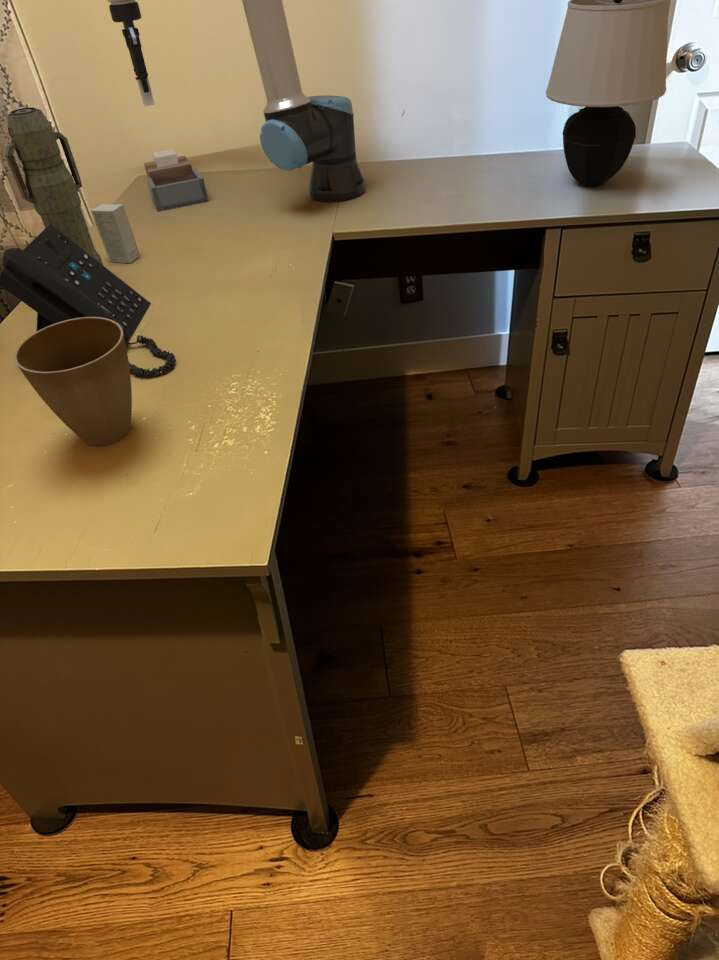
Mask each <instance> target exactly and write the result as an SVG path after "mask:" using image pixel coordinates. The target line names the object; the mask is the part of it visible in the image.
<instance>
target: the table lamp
mask: <svg viewBox="0 0 719 960" xmlns="http://www.w3.org/2000/svg"><path fill="white" fill-rule="evenodd" d="M669 5H670V0H568V2H567V9H566V13H565V18H564V21H563V26H562V29H561V33H560V37H559V41H558V44H557V49H556V52H555V56H554V59H553V60H554V61H553V65H552V68H551V72H550V73H551V74H550V76H549V80H548V84H547V88H546V90H545V96H546V98H547V99H548V100H550V101H552V102H554V103H558V104H562V105H567V106H575V107H582V108H579V110H578V111H577V112H574V113H572V115H570V116H568V117H567V119H566V121H565V123H564V126H563V130H562V144H563V153H564V157H565V163H566V167H567V169H568V171H569V174H570V175H571V176H572V178H573V179H574V180H575V181H576V182H577V183H578V184H580V185H584V186H588V187H589V186H599V185H602V184H605V183H606V182H607V181H609V180H610V179H612V178H613V177H614V176H615V175H616V174H617V173H619V171H620V170H621V169H622V168H623V167H624V164H625V163H626V161H627V160H628V158H629V155H630V153H631V151H632V148H633V145H634V143H635V139H636V136H637V134H636V133H637V130H636V129H637V128H636V124H635V122H634V120H633V118H632V116H631V115H630V113H629V112H627V111H626V110H624V108H623V107H625V106H626V107H627V106H635V105H640V104H644V103H645V104H646V103H649V102H652V101H656V100H658V99H660V98H662V97H663V96H664V95H665V94H666V91H667V55H668V30H669V24H668V23H669ZM583 107H584V108H583Z"/></svg>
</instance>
